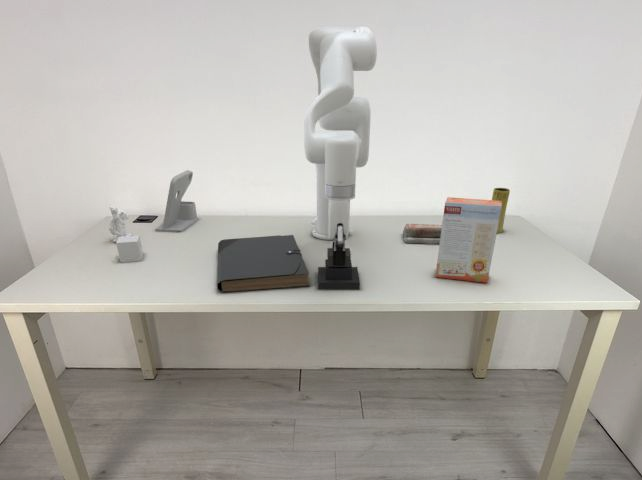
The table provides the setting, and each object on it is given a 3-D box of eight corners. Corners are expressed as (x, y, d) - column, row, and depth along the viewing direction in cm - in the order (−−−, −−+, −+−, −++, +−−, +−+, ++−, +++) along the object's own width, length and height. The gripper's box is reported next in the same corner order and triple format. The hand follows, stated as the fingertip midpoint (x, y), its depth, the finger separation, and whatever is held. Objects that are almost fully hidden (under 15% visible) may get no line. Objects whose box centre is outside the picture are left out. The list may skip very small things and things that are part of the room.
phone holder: (174, 217, 181) (166, 168, 172) (200, 218, 180) (193, 169, 171) (155, 230, 166) (145, 177, 157) (182, 232, 165) (174, 178, 156)
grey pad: (327, 266, 123) (327, 255, 121) (327, 258, 128) (327, 248, 126) (350, 266, 123) (350, 255, 121) (349, 258, 128) (349, 248, 126)
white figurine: (130, 244, 154) (122, 207, 148) (108, 245, 153) (99, 208, 147) (134, 236, 161) (127, 201, 155) (114, 237, 160) (105, 201, 154)
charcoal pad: (325, 279, 124) (325, 268, 123) (325, 269, 130) (325, 259, 129) (351, 279, 124) (352, 268, 123) (350, 269, 130) (350, 259, 129)
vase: (504, 229, 168) (513, 188, 161) (500, 234, 164) (508, 192, 156) (487, 227, 171) (495, 186, 164) (482, 231, 167) (490, 190, 159)
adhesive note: (120, 262, 140) (115, 242, 137) (123, 255, 145) (118, 236, 142) (141, 260, 141) (137, 241, 138) (143, 254, 146) (139, 235, 143)
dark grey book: (309, 272, 123) (216, 279, 119) (310, 286, 125) (218, 294, 122) (293, 233, 151) (217, 238, 147) (294, 246, 153) (219, 251, 149)
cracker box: (488, 276, 132) (503, 200, 121) (487, 284, 127) (502, 205, 116) (437, 269, 135) (447, 195, 125) (434, 277, 131) (445, 200, 120)
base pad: (317, 289, 124) (317, 282, 122) (318, 273, 133) (318, 266, 132) (359, 289, 124) (360, 282, 123) (356, 273, 133) (357, 266, 132)
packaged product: (405, 229, 153) (403, 220, 161) (404, 243, 155) (402, 234, 164) (462, 230, 151) (456, 221, 160) (459, 245, 154) (454, 235, 162)
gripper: (324, 183, 123) (324, 249, 132) (325, 199, 108) (324, 272, 118) (353, 183, 123) (350, 249, 132) (357, 199, 108) (354, 272, 118)
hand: (338, 259), depth 125 cm, fingers closed on grey pad, 6 cm apart
